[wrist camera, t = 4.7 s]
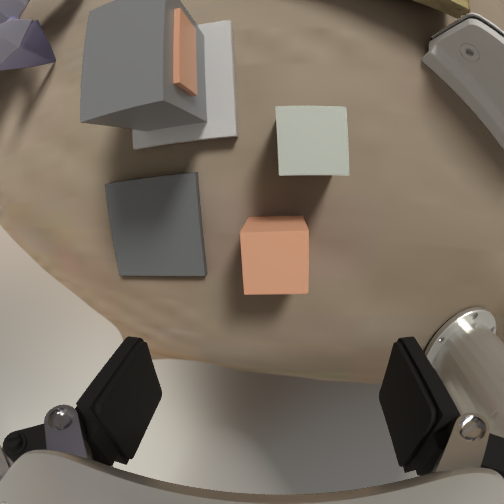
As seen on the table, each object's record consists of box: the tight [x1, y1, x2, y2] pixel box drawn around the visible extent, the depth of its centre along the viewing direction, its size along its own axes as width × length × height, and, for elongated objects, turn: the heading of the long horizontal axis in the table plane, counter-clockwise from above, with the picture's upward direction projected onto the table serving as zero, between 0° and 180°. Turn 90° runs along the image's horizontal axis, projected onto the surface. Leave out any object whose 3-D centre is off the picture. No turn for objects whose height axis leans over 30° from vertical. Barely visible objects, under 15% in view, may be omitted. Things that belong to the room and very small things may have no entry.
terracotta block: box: [240, 215, 309, 295], centre depth 24 cm, size 5×5×6 cm
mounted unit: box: [80, 0, 238, 149], centre depth 18 cm, size 12×10×11 cm
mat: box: [105, 172, 207, 276], centre depth 27 cm, size 10×10×1 cm
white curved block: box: [421, 12, 504, 150], centre depth 15 cm, size 17×5×10 cm, turn 58°
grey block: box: [275, 106, 349, 176], centre depth 21 cm, size 5×5×6 cm
